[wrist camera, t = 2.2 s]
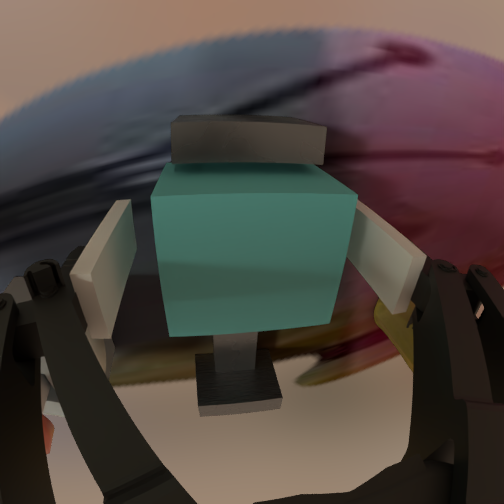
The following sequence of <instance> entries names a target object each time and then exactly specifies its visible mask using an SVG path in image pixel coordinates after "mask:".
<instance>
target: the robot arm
mask: <svg viewBox="0 0 504 504" xmlns="http://www.w3.org/2000/svg"><path fill="white" fill-rule="evenodd" d="M136 251H137V244H136V237H135V230H134V222H133V214H132V205H131V199H129V200H116V202H115V203H114V205H113V206H112V208H111V209H110V210H109V212H108V213H107V215H106V216H105V218H104V219H103V221H102V222H101V224H100V225H99V227H98V228H97V230H96V231H95V233H94V234H93V236H92V238H91V239H90V241H89V242H88V244H87V245H86V246H79V247H77V248H76V249H75V250H73V251H72V252H71V253H70V254H69V256H68V257H67V259H66V261H65V262H64V264H63V267H61V268H60V266H59V263H58V262H57V261H56V260H53V259H46V260H42V261H38V262H36V263H34V264H32V265H31V266H30V267H28V268H27V270H26V271H25V272H24V276H23V277H24V280H25V282H26V285H27V288H28V290H29V293H30V295H31V298H32V300H29V301H25V302H21V303H17V304H16V302H15V300H14V298H13V296H12V295H11V294H9V293H1V294H0V504H56V502H55V498H54V494H53V490H52V485H51V480H50V475H49V469H48V463H47V457H46V450H45V442H44V433H43V422H42V407H41V357H45V360H46V363H47V367H48V370H49V373H50V376H51V380H52V383H53V386H54V389H55V392H56V394H57V397H58V400H59V403H60V405H61V408H62V411H63V413H64V416H65V418H66V420H67V423H68V426H69V428H70V430H71V432H72V435H73V437H74V439H75V441H76V444H77V446H78V448H79V450H80V452H81V454H82V456H83V458H84V460H85V462H86V464H87V466H88V468H89V470H90V472H91V473H92V475H93V477H94V479H95V481H96V483H97V484H98V486H99V488H100V489H101V491H102V493H103V496H104V501H103V503H104V504H197V503H196V502H195V500H194V499H193V498H192V497H191V496H190V495H189V494H188V493H187V491H186V490H185V489H184V488H183V487H182V486H181V485H180V483H179V482H178V481H177V480H176V478H175V477H174V476H173V475H172V474H171V473H170V471H169V470H168V469H167V468H166V467H165V466H164V465H163V463H162V462H161V461H160V460H159V458H158V457H157V455H156V454H155V453H154V451H153V450H152V449H151V447H150V446H149V444H148V443H147V442H146V440H145V439H144V437H143V436H142V434H141V433H140V431H139V430H138V428H137V427H136V425H135V424H134V422H133V421H132V419H131V417H130V416H129V414H128V413H127V411H126V409H125V408H124V406H123V404H122V403H121V401H120V399H119V398H118V396H117V394H116V393H115V391H114V389H113V387H112V386H111V384H110V382H109V380H108V378H107V376H106V375H105V373H104V371H103V369H102V367H101V365H100V363H99V361H98V359H97V357H96V355H95V353H94V351H93V349H92V347H91V345H90V343H89V341H88V338H87V336H86V334H85V332H86V329H87V327H88V330H89V332H90V335H91V337H92V338H99V339H111V336H112V332H113V328H114V324H115V320H116V317H117V313H118V309H119V306H120V302H121V299H122V295H123V292H124V288H125V285H126V282H127V279H128V275H129V272H130V269H131V266H132V263H133V260H134V257H135V254H136ZM346 257H347V258H348V259H349V260H350V261H351V263H352V264H353V265H354V266H355V268H356V269H357V270H358V271H359V273H360V274H361V275H362V276H363V278H364V279H365V280H366V281H367V283H368V284H369V285H370V286H371V288H372V289H373V290H374V291H375V293H376V294H377V295H378V297H379V298H380V299H381V300H382V302H383V303H384V304H385V306H386V307H387V308H388V310H389V311H390V312H391V314H392V315H393V314H398V313H403V312H406V310H407V308H408V306H409V303H410V301H412V302H413V303H414V304H415V307H414V310H413V312H412V314H411V317H410V319H409V321H408V323H407V326H406V328H409V326H410V324H412V323H413V327H412V329H413V398H412V414H411V425H410V436H409V444H408V448H407V451H406V453H405V455H404V457H403V459H402V460H401V462H399V463H397V464H394V465H392V466H389V467H387V468H385V469H384V470H383V471H381V472H380V473H379V474H377V475H376V476H374V477H373V478H371V479H370V480H368V481H367V482H365V483H364V484H362V485H360V486H359V487H357V488H356V489H354V490H352V491H350V492H344V493H329V494H300V495H295V496H291V497H285V498H280V499H274V500H268V501H262V502H255V503H253V504H504V289H503V288H502V287H501V285H500V284H499V283H498V281H497V280H496V279H495V278H494V276H493V275H492V274H491V273H490V272H489V271H488V270H487V269H486V268H485V267H483V266H481V265H471V266H470V267H469V270H468V272H467V274H461V273H459V271H458V269H457V268H456V267H455V266H454V265H453V264H451V263H449V262H447V261H444V260H439V259H437V260H432V259H431V258H430V257H429V256H427V255H426V254H425V253H424V252H423V251H422V250H421V249H419V248H418V247H417V246H416V245H414V243H412V242H411V241H410V240H409V239H408V238H406V237H404V236H403V235H402V234H401V233H400V232H398V231H397V230H396V229H395V228H394V227H392V226H391V225H390V224H389V223H387V222H386V221H385V220H384V219H382V218H381V217H380V216H379V215H377V214H376V213H375V212H373V211H372V210H371V209H370V208H368V207H367V206H366V205H364V204H363V203H362V202H360V201H359V200H358V199H357V205H356V210H355V215H354V221H353V226H352V231H351V236H350V241H349V245H348V250H347V255H346ZM481 304H483V306H484V310H483V312H482V314H481V316H480V317H479V319H478V318H477V317H476V313H477V312H478V310H479V308H480V305H481Z"/></svg>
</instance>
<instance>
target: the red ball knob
mask: <svg viewBox="0 0 504 504" xmlns="http://www.w3.org/2000/svg"><path fill="white" fill-rule="evenodd" d="M50 386H51V383H50V382H49V380H48V379H47V377H46V376H45V374H41V407H42V422H43V433H44V442H45V450H46V454H49V453H50V448H51V443H52V438H53V433H54V425H53V424H52V423H51V421H50V420H49V419H48V418H46V417H45V416H44V415H43V411H44V407H45V404H46V400H47V396H48V393H49V390H50Z"/></svg>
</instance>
